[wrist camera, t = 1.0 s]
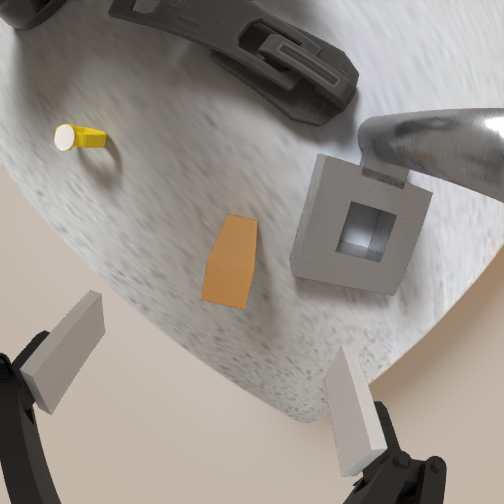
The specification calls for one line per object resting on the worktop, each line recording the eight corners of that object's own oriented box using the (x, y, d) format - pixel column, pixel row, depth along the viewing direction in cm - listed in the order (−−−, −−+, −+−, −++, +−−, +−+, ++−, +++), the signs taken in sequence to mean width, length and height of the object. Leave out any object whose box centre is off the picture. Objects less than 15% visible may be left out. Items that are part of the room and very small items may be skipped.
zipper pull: (153, -49, 13) (389, 63, 18) (171, -22, 19) (364, 76, 24) (97, 17, 16) (334, 139, 21) (126, 34, 22) (319, 138, 27)
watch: (116, 127, 27) (91, 129, 21) (110, 151, 28) (85, 157, 22) (76, 119, 26) (47, 120, 20) (70, 141, 27) (42, 146, 22)
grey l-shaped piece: (330, 99, 25) (443, 47, 6) (427, 137, 25) (571, 164, 7) (289, 259, 32) (315, 410, 13) (381, 279, 32) (461, 404, 14)
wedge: (228, 213, 30) (207, 260, 19) (257, 220, 30) (254, 270, 19) (222, 241, 31) (201, 300, 20) (251, 247, 31) (244, 309, 20)
